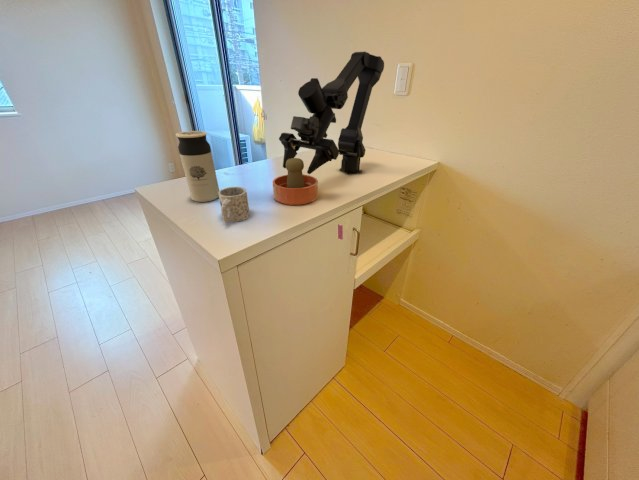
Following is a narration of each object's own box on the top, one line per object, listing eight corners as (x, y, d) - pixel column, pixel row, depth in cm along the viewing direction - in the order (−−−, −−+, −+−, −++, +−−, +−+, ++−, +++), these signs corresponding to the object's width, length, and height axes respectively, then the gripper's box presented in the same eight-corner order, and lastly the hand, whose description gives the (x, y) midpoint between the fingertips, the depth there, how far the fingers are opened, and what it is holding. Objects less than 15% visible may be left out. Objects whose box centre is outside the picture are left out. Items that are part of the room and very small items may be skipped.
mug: (229, 209, 70) (225, 186, 66) (253, 211, 69) (250, 187, 66) (212, 227, 61) (206, 201, 58) (239, 229, 61) (235, 203, 57)
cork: (308, 193, 80) (308, 157, 74) (301, 200, 75) (300, 162, 69) (290, 190, 81) (289, 155, 75) (282, 197, 76) (279, 160, 71)
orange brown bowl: (305, 186, 86) (305, 171, 83) (325, 200, 76) (325, 184, 73) (267, 193, 80) (266, 177, 78) (284, 209, 71) (282, 192, 68)
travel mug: (198, 192, 80) (183, 130, 71) (224, 192, 80) (212, 131, 71) (186, 202, 74) (168, 135, 64) (214, 202, 74) (199, 136, 64)
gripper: (281, 102, 74) (256, 148, 72) (335, 106, 65) (308, 159, 63) (299, 128, 83) (277, 170, 81) (349, 135, 74) (326, 182, 72)
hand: (295, 170), depth 74 cm, fingers open, 9 cm apart
